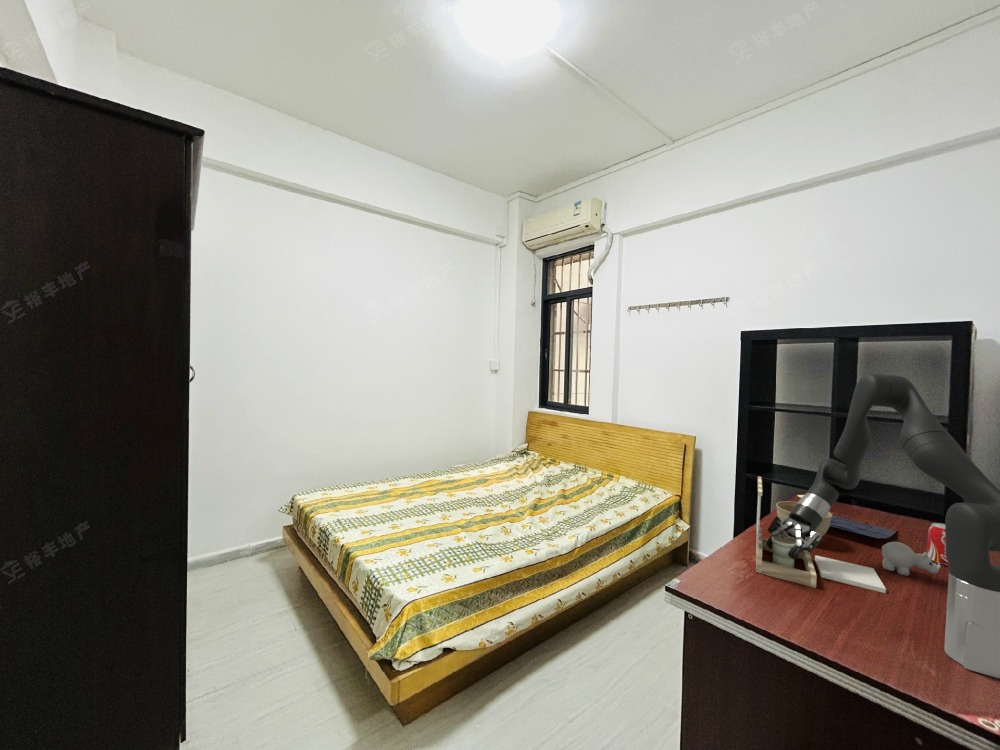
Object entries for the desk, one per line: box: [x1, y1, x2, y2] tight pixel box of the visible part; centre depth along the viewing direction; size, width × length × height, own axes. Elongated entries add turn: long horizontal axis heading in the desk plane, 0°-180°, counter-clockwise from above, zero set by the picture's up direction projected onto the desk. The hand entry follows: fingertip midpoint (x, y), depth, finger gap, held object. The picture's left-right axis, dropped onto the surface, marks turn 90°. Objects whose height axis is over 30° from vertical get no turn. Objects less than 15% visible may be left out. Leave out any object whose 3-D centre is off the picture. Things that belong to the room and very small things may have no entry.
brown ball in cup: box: [771, 536, 797, 569], centre depth 124 cm, size 6×6×8 cm
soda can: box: [926, 522, 949, 565], centre depth 129 cm, size 7×7×12 cm
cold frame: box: [755, 476, 818, 589], centre depth 124 cm, size 21×14×24 cm
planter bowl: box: [775, 500, 833, 542], centre depth 145 cm, size 16×16×11 cm
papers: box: [829, 514, 897, 540], centre depth 155 cm, size 24×30×4 cm
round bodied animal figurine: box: [881, 541, 942, 577], centre depth 121 cm, size 8×12×9 cm, turn 43°
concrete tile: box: [814, 555, 887, 594], centre depth 119 cm, size 14×14×1 cm
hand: (779, 551), depth 123 cm, fingers closed on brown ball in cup, 6 cm apart
